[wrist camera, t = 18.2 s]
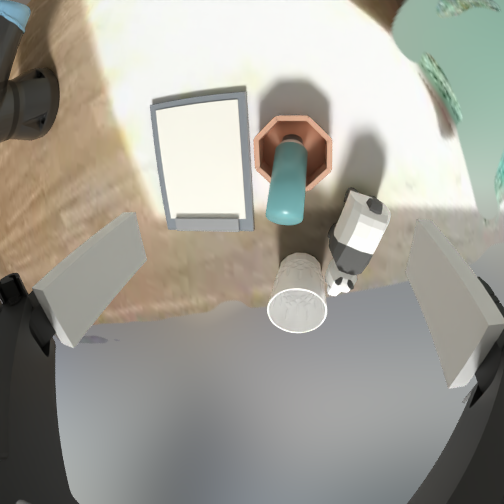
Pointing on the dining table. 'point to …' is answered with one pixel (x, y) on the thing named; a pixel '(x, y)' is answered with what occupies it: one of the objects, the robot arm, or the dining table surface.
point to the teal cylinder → (288, 182)
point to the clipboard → (205, 162)
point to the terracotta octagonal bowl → (313, 141)
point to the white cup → (298, 295)
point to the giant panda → (354, 239)
